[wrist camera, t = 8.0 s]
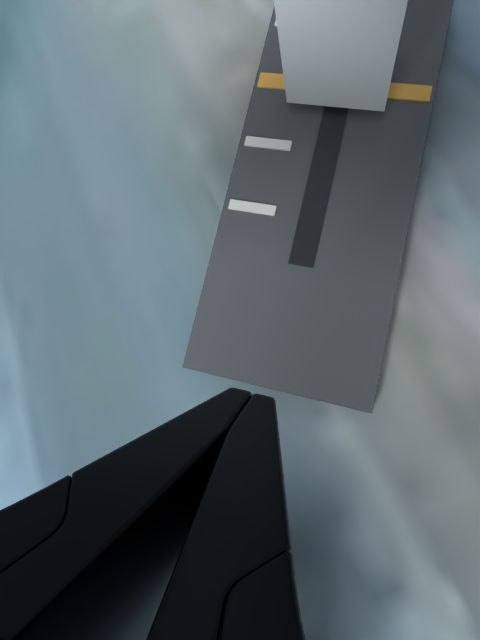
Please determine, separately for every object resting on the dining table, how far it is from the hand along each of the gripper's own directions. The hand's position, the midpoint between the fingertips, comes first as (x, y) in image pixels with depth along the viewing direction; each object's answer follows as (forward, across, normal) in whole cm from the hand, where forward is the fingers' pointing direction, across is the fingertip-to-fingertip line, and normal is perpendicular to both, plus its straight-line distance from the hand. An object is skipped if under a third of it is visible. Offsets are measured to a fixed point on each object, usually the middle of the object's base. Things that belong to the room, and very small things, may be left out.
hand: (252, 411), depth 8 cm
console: (+17, +2, -1) cm, 17 cm away
